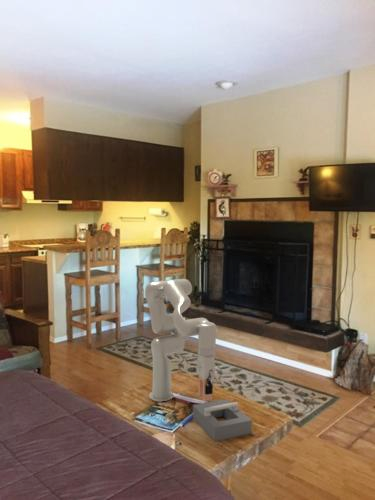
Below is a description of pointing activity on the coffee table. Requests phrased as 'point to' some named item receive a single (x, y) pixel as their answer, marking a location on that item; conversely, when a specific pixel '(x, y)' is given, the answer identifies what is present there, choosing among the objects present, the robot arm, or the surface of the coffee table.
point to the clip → (203, 389)
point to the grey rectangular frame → (224, 429)
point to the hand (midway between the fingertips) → (205, 390)
